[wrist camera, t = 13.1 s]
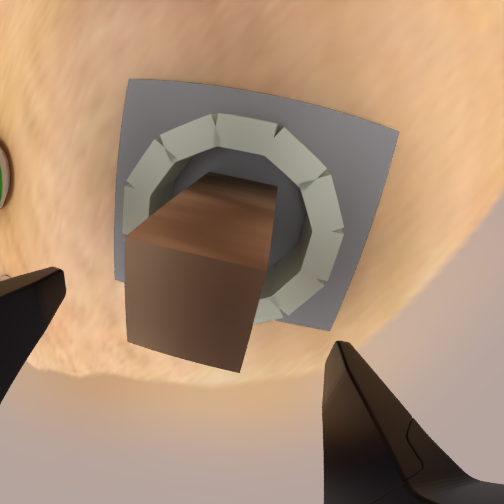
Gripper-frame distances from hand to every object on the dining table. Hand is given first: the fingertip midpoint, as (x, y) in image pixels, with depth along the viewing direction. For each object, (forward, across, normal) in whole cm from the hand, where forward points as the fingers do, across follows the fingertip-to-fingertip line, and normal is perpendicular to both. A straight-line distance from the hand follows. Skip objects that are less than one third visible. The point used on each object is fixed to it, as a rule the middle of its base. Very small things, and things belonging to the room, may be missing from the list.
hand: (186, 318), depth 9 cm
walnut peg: (+10, 0, 0) cm, 10 cm away
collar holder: (+12, 0, 0) cm, 12 cm away
